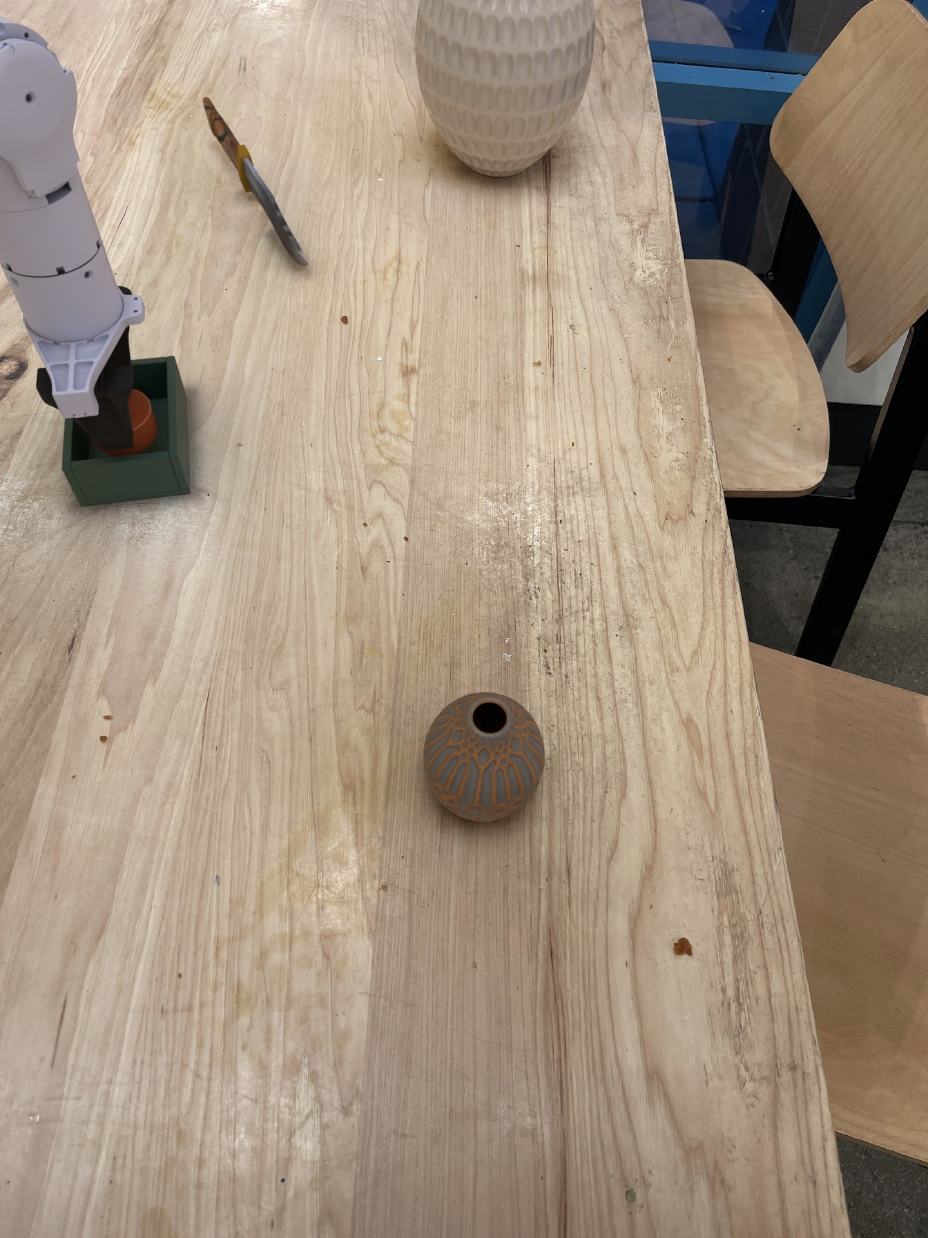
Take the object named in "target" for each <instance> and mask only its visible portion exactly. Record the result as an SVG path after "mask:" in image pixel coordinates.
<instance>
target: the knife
mask: <svg viewBox="0 0 928 1238" xmlns="http://www.w3.org/2000/svg"><path fill="white" fill-rule="evenodd" d="M202 105H203V109H204V113H205V116H206V119H207V123H208V127H209V130H210V131H211V134H212V135H213V136H214V137H215V139H216V140H217V141H218V143H219V144H220V146H221V147H222V149H223V151H224V152H225V154H226V155H227V157H228V159H229V160H230V162H231V163H232V165H233V166H234V167H235V169H236V170H237V174H238V177H239V181H240V183H241V185H242V187H243V190H244V192H245V193H246V194H247V193H252V194H253V196H254V197H255V198H256V200H257V202H258V203H259V205H260V206H261V208H262V209H263V211H264V213H265V214H266V217H267V218H268V220H269V222H270V224H271V225H272V227H273V229H274V231H275V233H276V235H277V237H278V238H279V240H280V242H281V244H282V246H283V247H284V250H285V251H286V252H287V254H288V255H289V256H290V258H291V259H292V260H293V261H294V262H295V263H296V264H298V265H299V266H302V267H304V266H305V267H306V266H307V265H308V266H309V264H310V263H309V261H308V259H307V258H306V255H305V253H304V251H303V248H302V247H301V246H300V244H299V243H298V241H297V240H296V237H295V236H294V234H293V232H292V230H291V229H290V227H289V225H288V223H287V221H286V219H285V217H284V215H283V214H282V211H281V209H280V208H279V205H278V202H277V201H276V198H275V196H274V195H273V192H272V191H271V190H270V189H269V187H268V185H267V184H266V183H265V181H264V180H263V178H262V177H261V175H260V174H259V172H258V171H257V169H256V168H255V165H254V162H253V159H252V156H251V154H250V152H249V150H248V148H247V146H246V145H245V144H240V143H239V141H238V139H237V138H236V136H235V134H234V133H233V131H232V130H231V128H230V126H229V125H228V123H227V122H226V120H225V119H224V118H223V117H222V115H221V114H220V113H219V111H218V110H217V109H216V106H215V105H214V103H213V101H212V100H211V99H210V98H209V97H208V96H205V97H203V98H202Z"/></svg>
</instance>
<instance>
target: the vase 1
mask: <svg viewBox="0 0 928 1238" xmlns="http://www.w3.org/2000/svg"><path fill="white" fill-rule="evenodd" d="M595 14H596V13H595V4H594V0H419V3H418V8H417V14H416V22H415V23H416V24H415V35H414V50H415V51H414V52H415V53H414V55H415V59H414V60H415V66H416V72H417V79H418V85H419V90H420V93H421V96H422V100H423V102H424V106H425V108H426V111H427V114H428V115H429V117H430V119H431V122H432V123H433V125H434V127H435V128H436V130H437V132H438V134H439V135H440V137H441V138H442V140H443V141H444V142H445V144H446V145H447V147H448V148H449V150H450V151H451V152H452V153H453V154H454V155H455V157H457V158H458V159H459V160H460V161H461V162H462V163H463V164H465V166H467V167H468V169H470V170H472V171H473V172H475V173H478V174H480V175H484V176H487V177H493V178H494V177H495V178H505V177H510V176H514V175H517V174H520V173H522V172H523V171H525V170H527V169H528V168H530V167H531V166H532V165H533V164H535V163H536V162H538V161H539V160H541V158H543V157H544V156H545V155H546V154H547V153H548V152H549V151H550V149H551V148H552V147H553V146H554V145H555V144H556V143H557V142H558V141H559V140H560V138H561V137H562V135H563V133H565V131H566V130H567V129H568V127H569V126H570V124H571V123H572V121H573V119H574V117H575V115H576V113H577V111H578V109H579V107H580V105H581V103H582V101H583V99H584V96H585V92H586V89H587V85H588V83H589V79H590V75H591V71H592V65H593V59H594V54H595V47H596V45H595V42H596V15H595Z"/></svg>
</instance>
